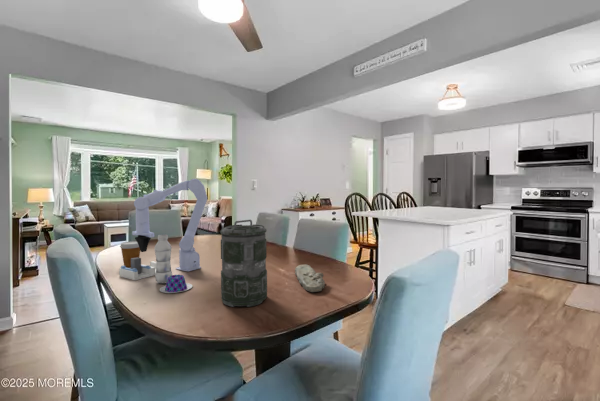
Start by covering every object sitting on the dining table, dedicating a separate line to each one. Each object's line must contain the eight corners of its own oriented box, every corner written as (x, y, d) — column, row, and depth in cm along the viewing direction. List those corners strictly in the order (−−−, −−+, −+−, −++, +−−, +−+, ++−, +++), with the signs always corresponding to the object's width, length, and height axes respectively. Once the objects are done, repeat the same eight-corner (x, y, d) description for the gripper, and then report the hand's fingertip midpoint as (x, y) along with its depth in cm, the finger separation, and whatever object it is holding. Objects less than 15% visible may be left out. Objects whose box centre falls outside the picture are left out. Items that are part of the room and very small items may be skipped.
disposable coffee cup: (135, 268, 150) (134, 244, 150) (116, 268, 150) (115, 244, 150) (145, 264, 160) (145, 241, 159) (127, 264, 160) (127, 241, 160)
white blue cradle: (168, 271, 145) (167, 262, 145) (134, 280, 131) (134, 269, 131) (153, 268, 151) (152, 259, 151) (119, 276, 138) (119, 266, 137)
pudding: (159, 287, 123) (159, 274, 123) (191, 283, 128) (190, 270, 128) (159, 296, 112) (159, 282, 112) (194, 292, 117) (193, 278, 117)
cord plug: (141, 273, 138) (141, 257, 138) (134, 275, 136) (134, 259, 136) (137, 272, 140) (137, 257, 140) (131, 274, 138) (130, 258, 137)
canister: (246, 289, 119) (246, 217, 118) (276, 298, 109) (275, 219, 108) (211, 301, 107) (210, 220, 105) (241, 312, 96) (240, 224, 95)
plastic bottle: (166, 285, 124) (165, 236, 123) (151, 284, 125) (150, 236, 124) (175, 281, 130) (174, 234, 129) (161, 280, 131) (160, 233, 131)
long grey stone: (312, 272, 149) (292, 274, 147) (311, 261, 149) (291, 263, 147) (330, 292, 114) (304, 295, 113) (329, 278, 114) (302, 280, 113)
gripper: (125, 222, 144) (126, 251, 145) (143, 224, 137) (144, 254, 137) (139, 221, 150) (140, 248, 151) (158, 222, 143) (158, 251, 143)
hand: (143, 251), depth 145 cm, fingers closed
